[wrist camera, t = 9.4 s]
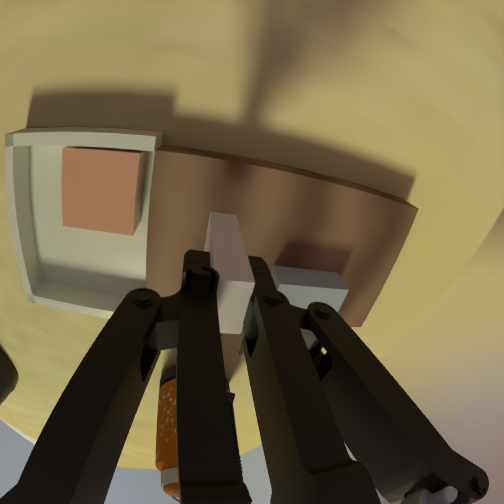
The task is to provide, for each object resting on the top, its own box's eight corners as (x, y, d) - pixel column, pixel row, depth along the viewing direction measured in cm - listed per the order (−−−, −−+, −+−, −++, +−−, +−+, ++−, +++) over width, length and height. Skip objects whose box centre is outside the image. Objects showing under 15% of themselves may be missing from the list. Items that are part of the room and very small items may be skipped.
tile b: (256, 320, 25) (260, 339, 23) (273, 265, 22) (280, 283, 20) (314, 322, 26) (322, 340, 24) (337, 272, 24) (348, 289, 21)
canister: (149, 383, 32) (142, 523, 15) (192, 342, 29) (199, 525, 12) (203, 403, 36) (214, 528, 19) (253, 368, 33) (283, 520, 16)
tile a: (75, 213, 20) (62, 226, 17) (77, 142, 17) (62, 147, 15) (140, 221, 21) (133, 235, 19) (148, 147, 18) (140, 153, 16)
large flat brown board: (150, 295, 25) (145, 312, 23) (161, 145, 19) (155, 150, 17) (352, 312, 30) (360, 326, 28) (403, 199, 24) (418, 209, 22)
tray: (39, 283, 23) (27, 301, 20) (25, 128, 15) (5, 134, 13) (150, 303, 26) (145, 324, 23) (163, 132, 18) (155, 136, 16)
